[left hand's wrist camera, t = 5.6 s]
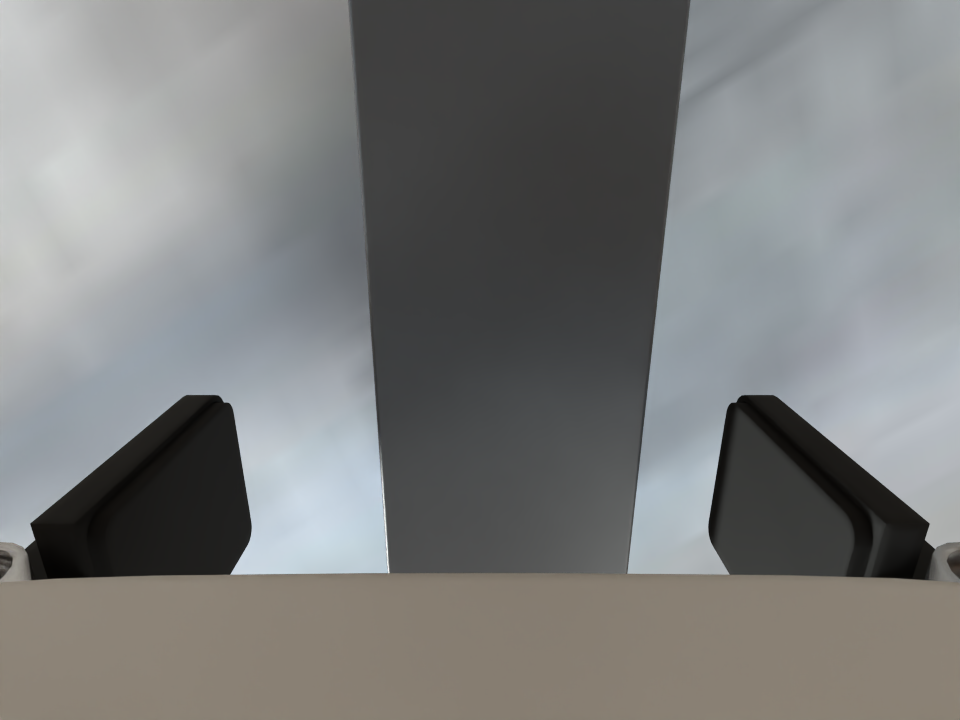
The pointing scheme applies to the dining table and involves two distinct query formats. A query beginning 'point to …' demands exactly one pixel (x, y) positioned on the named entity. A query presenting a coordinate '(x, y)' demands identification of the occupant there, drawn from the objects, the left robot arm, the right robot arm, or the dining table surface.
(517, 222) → the beam
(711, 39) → the dining table surface
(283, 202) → the dining table surface
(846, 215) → the dining table surface
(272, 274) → the dining table surface
